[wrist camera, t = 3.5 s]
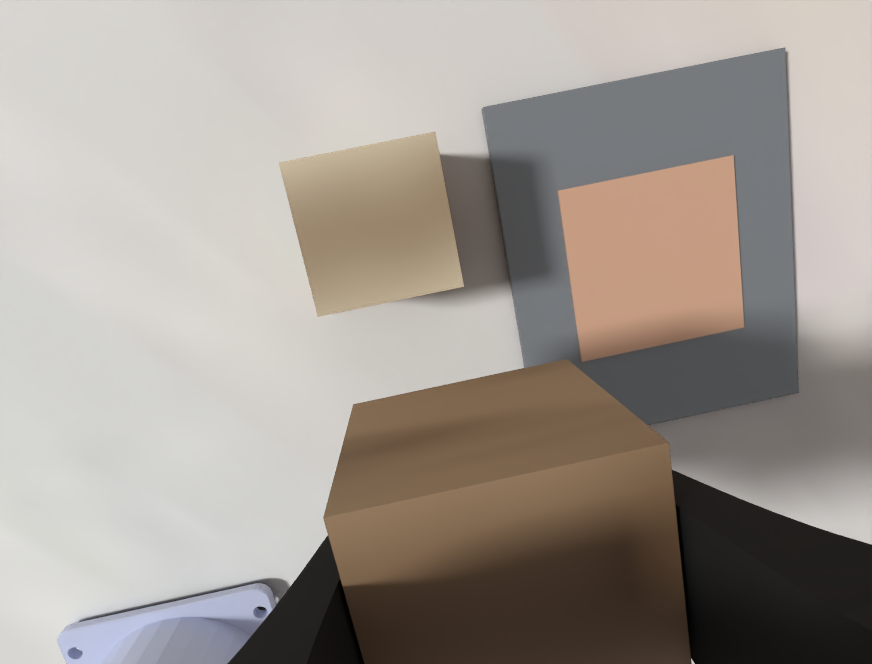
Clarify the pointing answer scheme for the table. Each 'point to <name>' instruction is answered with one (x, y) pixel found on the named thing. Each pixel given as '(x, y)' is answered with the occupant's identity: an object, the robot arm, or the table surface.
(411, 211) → the beech block
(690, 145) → the grey flat slab
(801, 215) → the table surface
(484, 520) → the walnut block
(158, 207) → the table surface
